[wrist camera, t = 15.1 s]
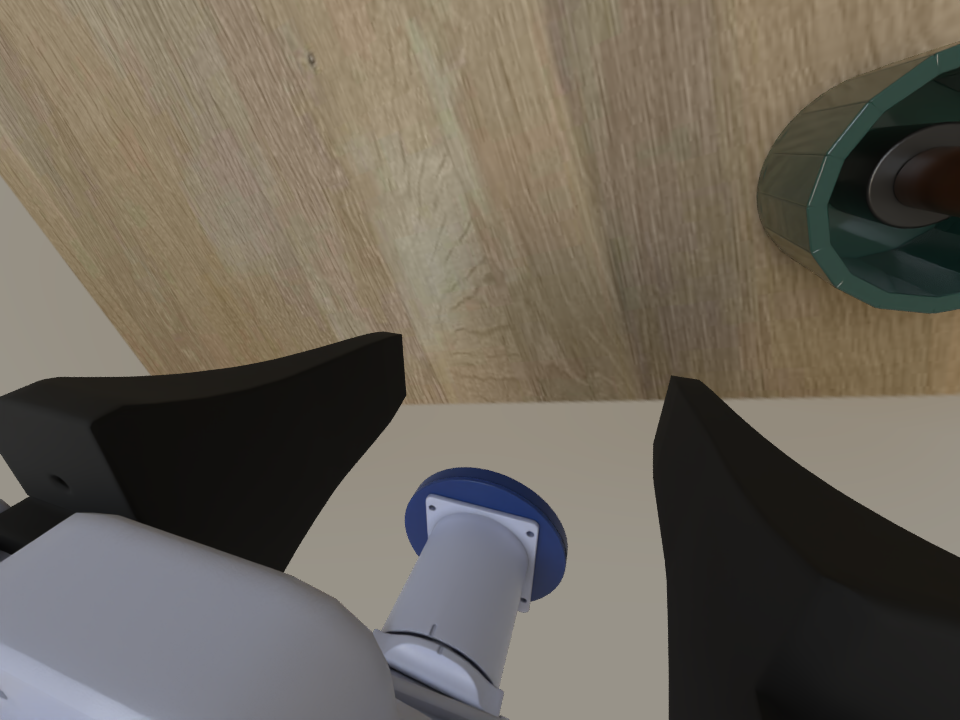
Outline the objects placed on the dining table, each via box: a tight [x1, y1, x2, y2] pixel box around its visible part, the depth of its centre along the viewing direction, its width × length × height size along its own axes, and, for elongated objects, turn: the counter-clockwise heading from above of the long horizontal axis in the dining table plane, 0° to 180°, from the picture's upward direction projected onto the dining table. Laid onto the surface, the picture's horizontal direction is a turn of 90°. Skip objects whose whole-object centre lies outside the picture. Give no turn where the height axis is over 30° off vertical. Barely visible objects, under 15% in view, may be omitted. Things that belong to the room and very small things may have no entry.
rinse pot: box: [757, 41, 960, 314], centre depth 13 cm, size 7×7×6 cm
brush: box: [829, 121, 960, 229], centre depth 11 cm, size 3×3×7 cm
